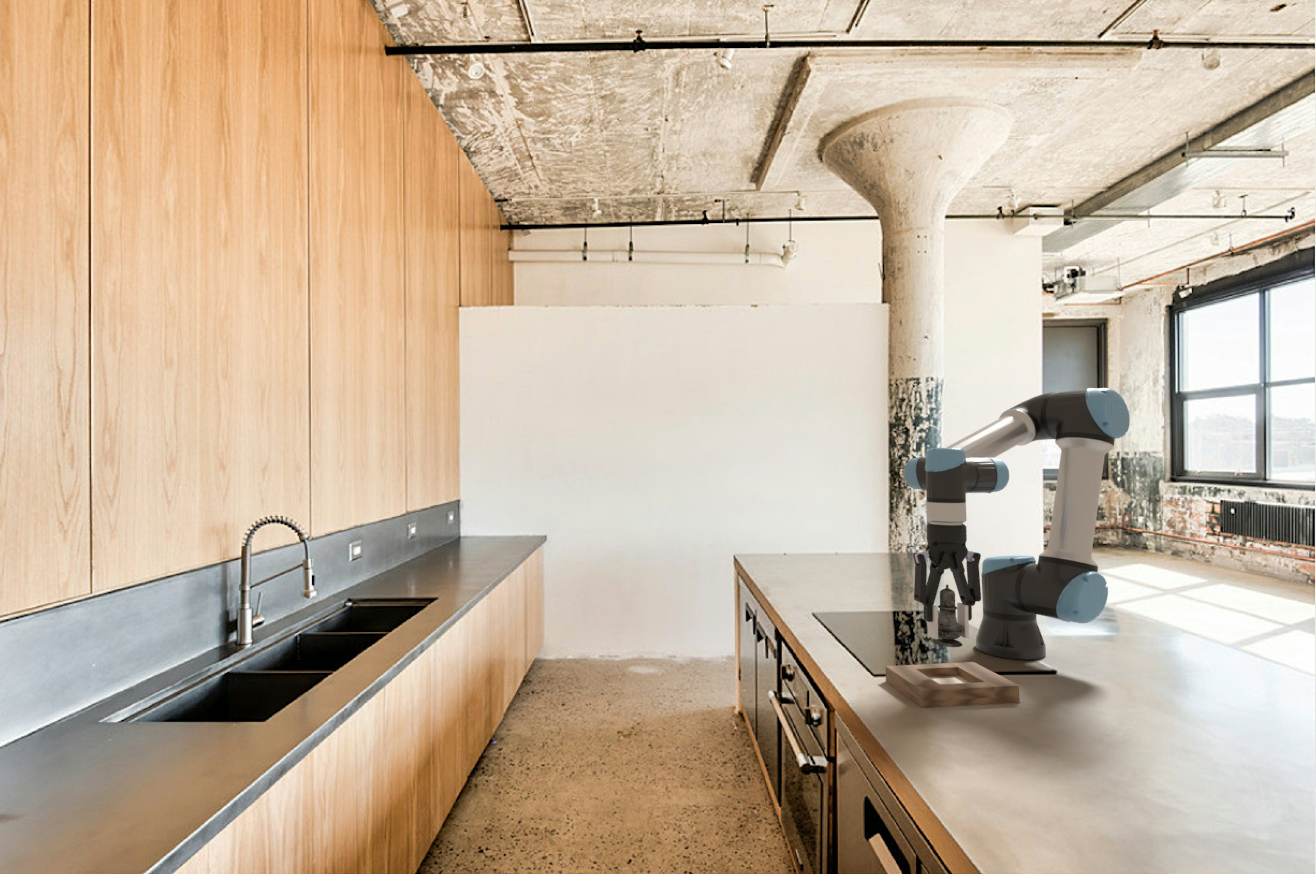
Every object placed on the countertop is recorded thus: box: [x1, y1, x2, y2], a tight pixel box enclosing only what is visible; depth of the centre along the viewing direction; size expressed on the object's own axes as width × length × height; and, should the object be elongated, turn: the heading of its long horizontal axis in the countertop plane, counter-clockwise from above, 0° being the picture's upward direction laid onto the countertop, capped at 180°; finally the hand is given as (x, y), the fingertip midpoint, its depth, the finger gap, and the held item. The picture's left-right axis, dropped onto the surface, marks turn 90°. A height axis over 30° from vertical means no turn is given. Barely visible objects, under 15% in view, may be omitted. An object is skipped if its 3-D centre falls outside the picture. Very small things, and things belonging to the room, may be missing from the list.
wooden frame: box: [885, 661, 1021, 708], centre depth 134 cm, size 20×15×3 cm
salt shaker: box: [933, 584, 964, 648], centre depth 135 cm, size 6×6×12 cm
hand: (948, 636), depth 135 cm, fingers closed on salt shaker, 6 cm apart
